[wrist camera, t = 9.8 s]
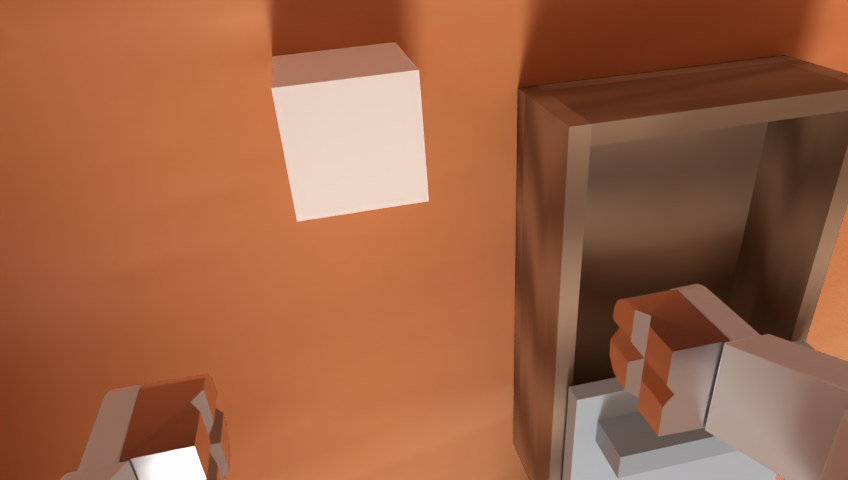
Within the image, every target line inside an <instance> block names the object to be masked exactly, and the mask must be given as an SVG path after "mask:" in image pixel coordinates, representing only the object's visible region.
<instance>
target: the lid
mask: <svg viewBox="0 0 848 480" xmlns="http://www.w3.org/2000/svg"><path fill="white" fill-rule="evenodd" d="M793 343H796V344H799V345H802V346H805V347H808V348H810V349H813V350H815V349H814V348H812V347H811V346H810V345H809V344H808V343H806V342H805V341H804V340H799V341H794V342H793ZM638 401H639V397H637V396H635V395H633V394H631V393H629V392H627V391H625V390H624V389H623V387H622V386H621V385H620V383H619V382H618V380H617V378H616V377H615V378H610V379H605V380H600V381H595V382H591V383H586V384H581V385H576V386H571V387H569V393H568V407H567V421H566V435H565V449H564V463H563V478H562V480H775V479H776V476H777V474H776V473H774V472H773V471H771V470H769V469H768V468H766V467H765V466H763V465H761V464H760V463H758V462H756V461H755V460H753V459H751V458H750V457H748V456H746V455H745V454H743V453H742V452H740V451H738V450H737V449H735V448H733V447H732V446H730V445H728V444H727V443H725V442H723V441H722V440H720V439H719V438H717V437H715V436H714V435H712V434H710V433H709V432H707V431H705V428H701V429H695V430H690V431H685V432H679V433H674V434H669V435H664V436H657V434H656V433H655V432H654V430H653V429H652V428H651V426H650V425H649V424H648V422H647V421H646V419H645V418H644V417H643V415H642V414H641V413H640V411H639V410H638Z"/></svg>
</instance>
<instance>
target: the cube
mask: <svg viewBox="0 0 848 480" xmlns="http://www.w3.org/2000/svg"><path fill="white" fill-rule="evenodd" d="M271 90H272V95H273V100H274V105H275V110H276V115H277V120H278V126H279V131H280V136H281V141H282V146H283V151H284V156H285V161H286V167H287V172H288V177H289V182H290V187H291V192H292V197H293V203H294V208H295V213H296V218H297V222H298V221H304V220H310V219H317V218H323V217H330V216H336V215H343V214H349V213H355V212H362V211H368V210H375V209H381V208H387V207H394V206H400V205H407V204H413V203H419V202H426V201H429V198H428V184H427V171H426V157H425V144H424V130H423V117H422V103H421V90H420V76H419V69H418V68H417V67H416V66H415V65H414V63H413V62H412V61H411V60H410V59H409V57H408V56H407V55H406V54H405V53H404V52H403V50H402V49H401V48H400V47H399V46H398V45H397V43H396V42H391V43H382V44H374V45H365V46H357V47H348V48H339V49H331V50H322V51H314V52H305V53H297V54H288V55H280V56H272V79H271Z"/></svg>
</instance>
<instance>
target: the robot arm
mask: <svg viewBox="0 0 848 480" xmlns="http://www.w3.org/2000/svg"><path fill="white" fill-rule="evenodd" d="M613 320H614V321H615V322H616V324H617V325H618V326H619V327H620V328H619V329H618V330H617V332H616V333H615V334H614V336H613V337H612V338H611V341H610V359H611V364H612V369H613V371H614V373H615V376H616V378H617V380H618V382H619V383H620V385H621V386H622V387H623V389H624V390H625V391H627V392H629V393H631V394H633V395H635V396H637V397H639V401H638V410H639V411H640V413H641V414H642V415H643V417H644V418H645V419H646V421H647V422H648V424H649V425H650V426H651V428H652V429H653V430H654V432H655V433H656V434H657V436H664V435H669V434H674V433H679V432H685V431H690V430H695V429H701V428H705V431H707V432H709V433H710V434H712V435H714V436H715V437H717V438H719V439H720V440H722V441H723V442H725V443H727V444H728V445H730V446H732V447H733V448H735V449H737V450H738V451H740V452H742V453H743V454H745V455H746V456H748V457H750V458H751V459H753V460H755V461H756V462H758V463H760V464H761V465H763V466H765V467H766V468H768V469H769V470H771V471H773V472H774V473H776V474H778V475H779V476H781V477H783V478H784V479H786V480H848V361H845V360H842V359H839V358H836V357H833V356H830V355H828V354H825V353H822V352H819V351H816V350H813V349H810V348H808V347H805V346H802V345H799V344H796V343H793V342H790V341H788V340H785V339H782V338H779V337H776V336H773V335H771V334H766V335H760V334H759V333H757V332H756V331H755V330H754V329H753V328H752V327H751V326H749V325H748V324H747V323H746V322H745V321H744V320H743V319H742V318H740V317H739V316H738V315H737V314H736V313H735V312H734V311H732V310H731V309H730V308H729V307H728V306H727V305H726V304H724V303H723V302H722V301H721V300H720V299H719V298H718V297H717V296H715V295H714V294H713V293H712V292H711V291H710V290H709V289H707V288H706V287H705V286H703V285H700V284H692V285H688V286H683V287H678V288H673V289H670V290H667V291H662V292H657V293H651V294H646V295H640V296H635V297H630V298H624V299H619V300H618V301H617V303H616V305H615V307H614V314H613ZM216 398H217V391H216V388H215V385H214V382H213V379H212V377H211V376H210V375H209V374H202V375H195V376H189V377H183V378H177V379H170V380H164V381H158V382H152V383H145V384H144V385H135V386H129V387H123V388H117V389H111V390H110V391H109V392H108V393H106V394H105V396H104V398H103V400H102V403H101V406H100V409H99V411H98V414H97V417H96V420H95V423H94V425H93V428H92V431H91V434H90V437H89V439H88V442H87V445H86V448H85V451H84V453H83V456H82V459H81V462H80V465H79V467H78V470H77V471H74V472H69V473H66V474H65V475H64V476H63V477H62V478H61V479H60V480H223V479H224V477H225V476H226V475H227V474H228V473H229V468H230V443H229V435H228V429H227V424H226V421H225V417H224V414H223V413H222V412H221V411H219V410H218V409H216V408H215V407H216Z"/></svg>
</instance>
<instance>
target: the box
mask: <svg viewBox="0 0 848 480" xmlns="http://www.w3.org/2000/svg"><path fill="white" fill-rule="evenodd" d="M847 204H848V74H846V73H843V72H840V71H836V70H833V69H829V68H826V67H823V66H819V65H816V64H813V63H809V62H806V61H802V60H799V59H796V58H792V57H789V56H785V55H784V56H776V57H768V58H759V59H751V60H743V61H735V62H727V63H719V64H710V65H702V66H694V67H686V68H678V69H670V70H661V71H653V72H645V73H637V74H629V75H621V76H612V77H604V78H596V79H588V80H580V81H572V82H563V83H555V84H547V85H539V86H531V87H523V88H518V120H517V197H516V274H515V351H514V428H513V444H514V446H515V448H516V450H517V453H518V455H519V457H520V459H521V462H522V464H523V466H524V469H525V471H526V473H527V475H528V478H529V480H562V478H563V463H564V449H565V435H566V421H567V407H568V393H569V387H571V386H576V385H581V384H586V383H591V382H595V381H600V380H605V379H610V378H615V377H616V376H615V373H614V371H613V369H612V364H611V359H610V341H611V338H612V337H613V336H614V334H615V333H616V332H617V330H618V329H619V328H620V327H619V326H618V325H617V324H616V322H615V321H614V320H613V314H614V307H615V305H616V303H617V301H618V300H619V299H624V298H630V297H635V296H640V295H646V294H651V293H657V292H662V291H667V290H670V289H673V288H678V287H683V286H688V285H692V284H700V285H703V286H705V287H706V288H707V289H709V290H710V291H711V292H712V293H713V294H714V295H715V296H717V297H718V298H719V299H720V300H721V301H722V302H723V303H724V304H726V305H727V306H728V307H729V308H730V309H731V310H732V311H734V312H735V313H736V314H737V315H738V316H739V317H740V318H742V319H743V320H744V321H745V322H746V323H747V324H748V325H749V326H751V327H752V328H753V329H754V330H755V331H756V332H757V333H759V334H760V335H766V334H771V335H773V336H776V337H779V338H782V339H785V340H788V341H790V342H794V341H799V340H804V341H806V338H807V335H808V332H809V328H810V325H811V322H812V319H813V315H814V312H815V309H816V306H817V302H818V299H819V296H820V293H821V289H822V286H823V283H824V279H825V276H826V273H827V270H828V266H829V263H830V260H831V257H832V253H833V250H834V247H835V244H836V240H837V237H838V234H839V230H840V227H841V224H842V221H843V217H844V214H845V211H846V208H847Z"/></svg>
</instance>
